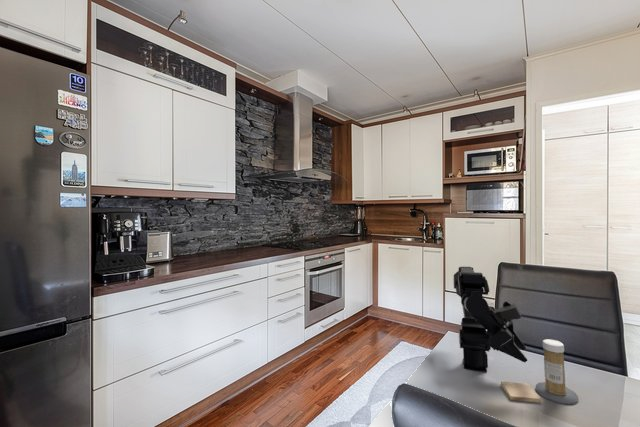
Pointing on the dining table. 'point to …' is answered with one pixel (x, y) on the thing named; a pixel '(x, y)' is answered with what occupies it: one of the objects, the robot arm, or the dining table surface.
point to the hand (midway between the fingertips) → (525, 354)
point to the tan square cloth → (520, 392)
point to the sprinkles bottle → (554, 367)
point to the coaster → (565, 399)
